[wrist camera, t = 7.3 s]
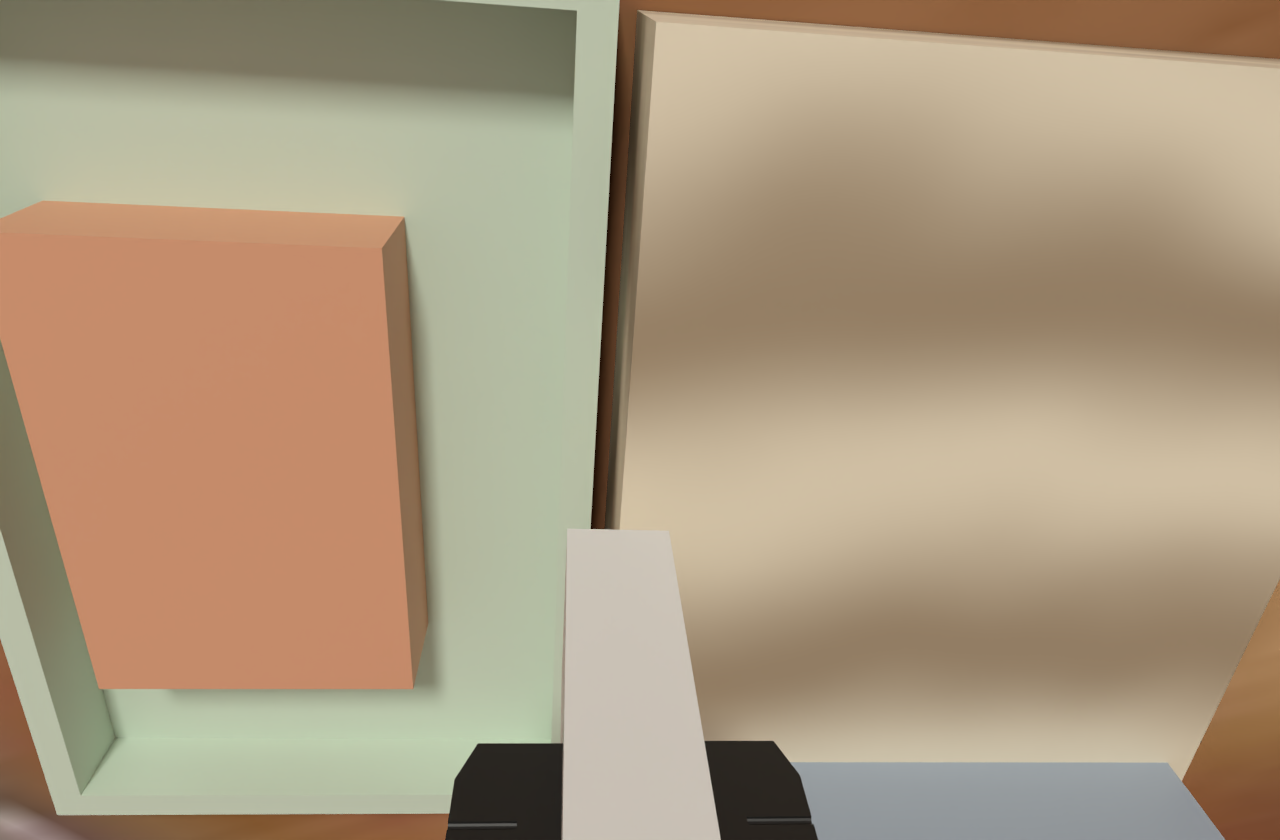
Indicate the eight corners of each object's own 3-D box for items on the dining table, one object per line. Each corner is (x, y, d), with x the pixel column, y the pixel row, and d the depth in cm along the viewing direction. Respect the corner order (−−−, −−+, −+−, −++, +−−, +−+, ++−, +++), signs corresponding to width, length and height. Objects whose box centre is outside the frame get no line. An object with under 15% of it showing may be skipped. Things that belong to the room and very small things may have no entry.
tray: (-120, -92, 13) (-240, -103, 11) (615, -32, 14) (621, -33, 12) (105, 736, 21) (57, 814, 19) (575, 738, 22) (575, 812, 20)
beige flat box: (636, 10, 15) (655, 22, 11) (1305, 61, 16) (1519, 86, 12) (585, 831, 24) (586, 983, 20) (1014, 828, 25) (1088, 972, 21)
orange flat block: (381, 248, 14) (404, 216, 15) (-30, 231, 13) (42, 200, 15) (413, 689, 18) (428, 623, 19) (98, 688, 17) (144, 621, 19)
